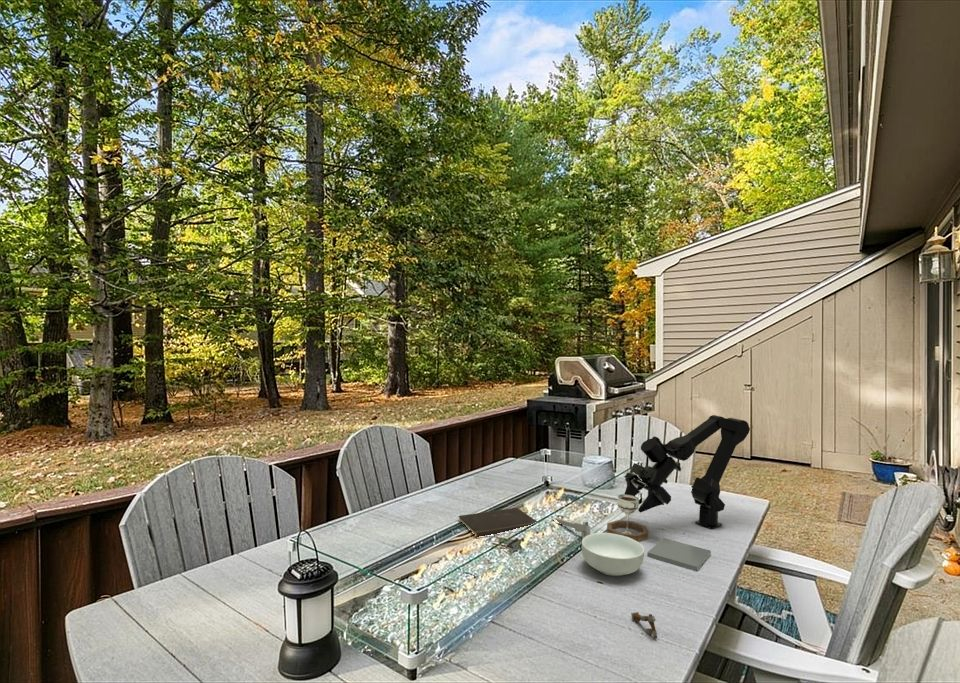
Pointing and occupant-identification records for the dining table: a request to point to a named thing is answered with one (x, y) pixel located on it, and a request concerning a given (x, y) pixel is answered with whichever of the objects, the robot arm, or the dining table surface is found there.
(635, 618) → the wooden post with brackets
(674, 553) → the slate board
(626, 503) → the wineglass
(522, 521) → the hardcover book
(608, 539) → the cereal bowl
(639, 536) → the ring holder
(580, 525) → the caliper
